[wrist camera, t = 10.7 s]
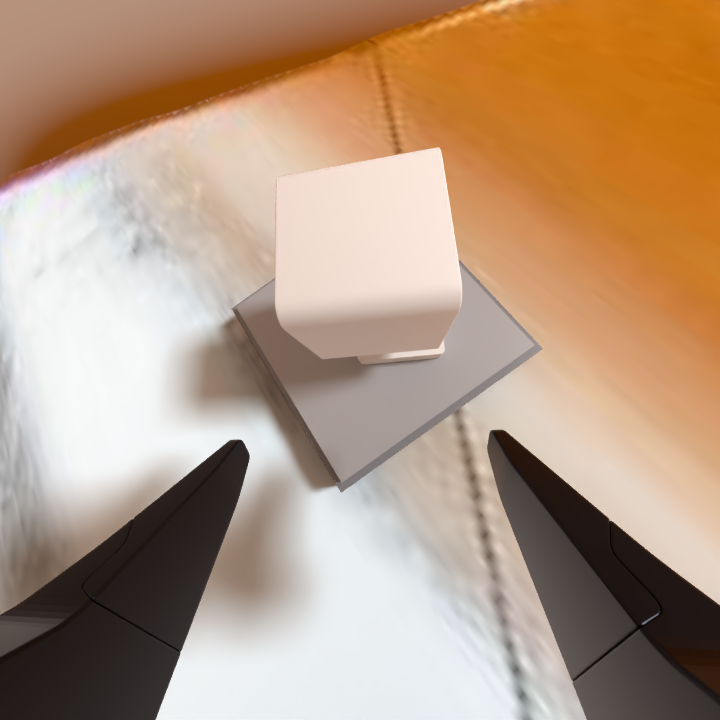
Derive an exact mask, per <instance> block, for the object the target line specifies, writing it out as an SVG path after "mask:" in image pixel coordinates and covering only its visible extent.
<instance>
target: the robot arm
mask: <svg viewBox="0 0 720 720" xmlns="http://www.w3.org/2000/svg"><path fill="white" fill-rule="evenodd" d="M487 449H488V455H489V459H490V462H491V466H492V470H493V473H494V477H495V481H496V484H497V488H498V492H499V495H500V498H501V501H502V504H503V507H504V509H505V512H506V514H507V517H508V519H509V522H510V524H511V527H512V529H513V532H514V535H515V537H516V540H517V542H518V545H519V547H520V550H521V552H522V555H523V557H524V560H525V563H526V565H527V568H528V570H529V573H530V575H531V578H532V580H533V583H534V585H535V588H536V591H537V593H538V596H539V598H540V601H541V603H542V606H543V608H544V611H545V613H546V616H547V619H548V621H549V624H550V626H551V629H552V631H553V634H554V636H555V639H556V641H557V644H558V647H559V649H560V652H561V654H562V657H563V659H564V662H565V664H566V667H567V669H568V672H569V675H570V677H571V679H572V681H573V685H574V688H575V690H576V693H577V695H578V698H579V700H580V703H581V706H582V708H583V711H584V713H585V716H586V718H587V720H720V605H719V604H717V603H716V602H715V601H713V600H712V599H711V598H709V597H708V596H707V595H705V594H704V593H703V592H701V591H700V590H699V589H697V588H696V587H695V586H693V585H692V584H691V583H689V582H688V581H687V580H685V579H684V578H683V577H681V576H680V575H679V574H677V573H676V572H675V571H673V570H672V569H671V568H669V567H668V566H667V565H666V564H664V563H663V562H662V561H660V560H659V559H658V558H656V557H655V556H654V555H653V554H651V553H650V552H649V551H648V550H646V549H645V548H644V547H643V546H641V545H640V544H639V543H638V542H637V541H635V540H634V539H633V538H632V537H630V536H629V535H628V534H627V533H626V532H624V531H623V530H622V529H621V528H620V527H618V526H617V525H616V524H615V523H614V522H612V521H609V518H608V517H607V516H605V515H604V514H603V513H602V512H601V511H599V510H598V509H597V508H596V507H595V506H593V505H592V504H591V503H590V502H589V501H588V500H586V499H585V498H584V497H583V496H582V495H580V494H579V493H578V492H577V491H576V490H575V489H573V488H572V487H571V486H570V485H569V484H567V483H566V482H565V481H564V480H563V479H562V478H560V477H559V476H558V475H557V474H556V473H554V472H553V471H552V470H551V469H550V468H549V467H547V466H546V465H545V464H544V463H543V462H541V461H540V460H539V459H538V458H537V457H536V456H534V455H533V454H532V453H531V452H530V451H528V450H527V449H526V448H525V447H524V446H523V445H521V444H520V443H519V442H518V441H517V440H515V439H514V438H513V437H512V436H511V435H509V434H508V433H507V432H506V431H504V430H491V431H490V434H489V440H488V446H487ZM249 458H250V456H249V452H248V450H247V448H246V446H245V444H244V443H243V441H242V440H230V441H228V442H227V443H226V444H225V445H223V446H222V447H221V448H220V449H219V450H217V451H216V452H215V453H214V454H212V455H211V456H210V457H209V458H207V459H206V460H205V461H204V462H202V463H201V464H200V465H199V466H198V467H196V468H195V469H194V470H193V471H191V472H190V473H189V474H188V475H186V476H185V477H184V478H183V479H181V480H180V481H179V482H178V483H176V484H175V485H174V486H173V487H172V488H170V489H169V490H168V491H167V492H165V493H164V494H163V495H162V496H160V497H159V498H158V499H157V500H155V501H154V502H153V503H152V504H151V505H149V506H148V507H147V508H146V509H144V510H143V511H142V512H141V513H139V514H138V515H137V516H136V517H135V518H134V519H132V520H131V521H129V522H128V523H127V524H126V525H124V526H123V527H122V528H121V529H120V530H118V531H117V532H116V533H114V534H113V535H112V536H111V537H109V538H108V539H107V540H106V541H104V542H103V543H102V544H100V545H99V546H98V547H96V548H95V549H94V550H92V551H91V552H90V553H88V554H87V555H86V556H84V557H83V558H82V559H80V560H79V561H78V562H76V563H75V564H74V565H72V566H71V567H69V568H68V569H67V570H65V571H64V572H63V573H61V574H60V575H59V576H57V577H56V578H54V579H53V580H52V581H50V582H49V583H48V584H46V585H45V586H43V587H42V588H41V589H39V590H38V591H37V592H35V593H34V594H33V595H31V596H30V597H28V598H27V599H26V600H24V601H23V602H21V603H20V604H18V605H17V606H15V607H13V608H12V609H10V610H8V611H6V612H5V613H3V614H1V615H0V720H156V717H157V714H158V712H159V709H160V706H161V704H162V701H163V698H164V696H165V693H166V690H167V688H168V685H169V683H170V680H171V677H172V675H173V672H174V669H175V667H176V664H177V661H178V659H179V656H180V652H181V650H182V648H183V645H184V642H185V640H186V637H187V634H188V632H189V629H190V627H191V624H192V621H193V619H194V616H195V613H196V611H197V608H198V605H199V603H200V600H201V597H202V595H203V592H204V590H205V587H206V584H207V582H208V579H209V576H210V574H211V571H212V568H213V566H214V563H215V560H216V558H217V555H218V552H219V550H220V547H221V545H222V542H223V539H224V537H225V534H226V531H227V529H228V526H229V523H230V521H231V518H232V515H233V513H234V510H235V508H236V505H237V502H238V499H239V496H240V492H241V489H242V485H243V481H244V478H245V474H246V470H247V467H248V463H249Z"/></svg>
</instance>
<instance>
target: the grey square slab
mask: <svg viewBox="0 0 720 720" xmlns="http://www.w3.org/2000/svg"><path fill="white" fill-rule="evenodd" d="M458 261H459V267H460V274H461V281H462V303H461V308H460V310H459V312H458V314H457V316H456V318H455V320H454V322H453V323H452V325H451V327H450V329H449V331H448V332H447V334H446V336H445V338H444V347H445V351H444V353H443V354H442V356H441V357H440V358H434V359H423V360H411V361H400V362H389V363H377V364H366V365H363V364H361V363H360V361H359V360H358V358H357V356H353V357H342V358H331V359H321V358H320V357H319V356H317V355H316V354H315V353H313V352H312V351H311V350H310V349H308V348H307V347H306V346H304V345H303V344H302V343H300V342H299V341H298V340H297V339H295V338H294V337H293V336H291V335H290V334H289V333H287V332H286V331H285V330H284V329H283V328H282V327H281V325H280V323H279V321H278V318H277V315H276V310H275V278H274V279H273V280H272V281H270V282H269V283H267V284H266V285H265V286H263V287H262V288H260V289H259V290H257V291H256V292H255V293H253V294H252V295H250V296H249V297H247V298H246V299H245V300H243V301H242V302H240V303H239V304H238V305H236V306H235V307H233V308H232V310H233V312H234V313H235V315H236V317H237V318H238V320H239V322H240V323H241V325H242V327H243V328H244V330H245V332H246V333H247V335H248V337H249V338H250V340H251V342H252V344H253V345H254V347H255V349H256V350H257V352H258V354H259V355H260V357H261V359H262V360H263V362H264V364H265V365H266V367H267V369H268V370H269V372H270V374H271V375H272V377H273V379H274V381H275V382H276V384H277V386H278V387H279V389H280V391H281V392H282V394H283V396H284V397H285V399H286V401H287V402H288V404H289V406H290V407H291V409H292V411H293V412H294V414H295V416H296V418H297V419H298V421H299V423H300V424H301V426H302V428H303V429H304V431H305V433H306V434H307V436H308V438H309V439H310V441H311V443H312V444H313V446H314V448H315V449H316V451H317V453H318V455H319V456H320V458H321V460H322V461H323V463H324V465H325V466H326V468H327V470H328V471H329V473H330V475H331V476H332V478H333V480H334V481H335V483H336V485H337V486H338V488H339V490H340V492H343V491H344V490H345V489H347V488H348V487H350V486H351V485H352V484H354V483H355V482H357V481H358V480H359V479H361V478H362V477H364V476H365V475H366V474H368V473H369V472H371V471H372V470H374V469H375V468H376V467H378V466H379V465H381V464H382V463H383V462H385V461H386V460H388V459H389V458H390V457H392V456H393V455H395V454H396V453H397V452H399V451H400V450H402V449H403V448H404V447H406V446H407V445H409V444H410V443H411V442H413V441H414V440H416V439H417V438H418V437H420V436H421V435H423V434H424V433H425V432H427V431H428V430H430V429H431V428H432V427H434V426H435V425H437V424H438V423H439V422H441V421H442V420H444V419H445V418H447V417H448V416H449V415H451V414H452V413H454V412H455V411H456V410H458V409H459V408H461V407H462V406H463V405H465V404H466V403H468V402H469V401H470V400H472V399H473V398H475V397H476V396H477V395H479V394H480V393H482V392H483V391H484V390H486V389H487V388H489V387H490V386H491V385H493V384H494V383H496V382H497V381H498V380H500V379H501V378H503V377H504V376H505V375H507V374H508V373H510V372H511V371H512V370H514V369H515V368H517V367H518V366H520V365H521V364H522V363H524V362H525V361H527V360H528V359H529V358H531V357H532V356H534V355H535V354H536V353H538V352H539V351H541V350H542V349H543V348H542V347H541V346H540V345H539V344H538V343H537V342H536V341H535V340H534V339H533V338H532V337H531V336H530V335H529V333H528V332H527V331H526V330H525V329H524V328H523V327H522V326H521V325H520V324H519V323H518V322H517V321H516V320H515V319H514V318H513V317H512V315H511V314H510V313H509V312H508V311H507V310H506V309H505V308H504V307H503V306H502V305H501V304H500V303H499V302H498V301H497V300H496V298H495V297H494V296H493V295H492V294H491V293H490V292H489V291H488V290H487V289H486V288H485V287H484V286H483V285H482V284H481V283H480V282H479V280H478V279H477V278H476V277H475V276H474V275H473V274H472V273H471V272H470V271H469V270H468V269H467V268H466V267H465V266H464V265H463V263H462V262H461V261H460V260H459V259H458Z"/></svg>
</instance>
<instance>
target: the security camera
mask: <svg viewBox="0 0 720 720" xmlns="http://www.w3.org/2000/svg"><path fill="white" fill-rule="evenodd" d="M461 303H462V281H461V274H460V267H459V261H458V254H457V248H456V242H455V235H454V229H453V223H452V216H451V210H450V203H449V197H448V191H447V184H446V178H445V172H444V165H443V159H442V153H441V150H440V148H439V147H437V148H432V149H426V150H421V151H415V152H410V153H405V154H399V155H394V156H388V157H383V158H377V159H372V160H366V161H361V162H356V163H350V164H345V165H339V166H334V167H328V168H323V169H318V170H312V171H307V172H301V173H296V174H290V175H285V176H280V177H278V178H277V180H276V231H275V310H276V315H277V318H278V321H279V323H280V325H281V327H282V328H283V329H284V330H285V331H286V332H287V333H289V334H290V335H291V336H293V337H294V338H295V339H297V340H298V341H299V342H300V343H302V344H303V345H304V346H306V347H307V348H308V349H310V350H311V351H312V352H313V353H315V354H316V355H317V356H319V357H320V358H321V359H331V358H342V357H353V356H357V358H358V360H359V361H360V363H361V364H363V365H366V364H377V363H389V362H400V361H411V360H423V359H434V358H440V357H441V356H442V354H443V353H444V351H445V347H444V338H445V336H446V334H447V332H448V331H449V329H450V327H451V325H452V323H453V322H454V320H455V318H456V316H457V314H458V312H459V310H460V308H461Z"/></svg>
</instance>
